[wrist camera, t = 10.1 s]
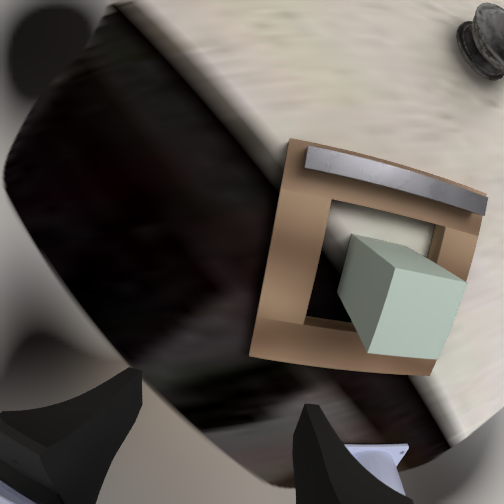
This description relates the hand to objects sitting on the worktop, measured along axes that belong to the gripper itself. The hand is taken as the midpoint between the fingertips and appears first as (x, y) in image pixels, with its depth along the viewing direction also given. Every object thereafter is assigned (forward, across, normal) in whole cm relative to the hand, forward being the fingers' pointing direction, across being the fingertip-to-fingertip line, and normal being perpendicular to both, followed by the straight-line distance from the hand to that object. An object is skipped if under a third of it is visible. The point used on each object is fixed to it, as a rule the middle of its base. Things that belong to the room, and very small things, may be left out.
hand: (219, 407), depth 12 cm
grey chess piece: (+10, -15, -24) cm, 30 cm away
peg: (+9, -8, -5) cm, 13 cm away
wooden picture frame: (+9, -8, -5) cm, 13 cm away
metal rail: (+8, -8, -11) cm, 16 cm away
